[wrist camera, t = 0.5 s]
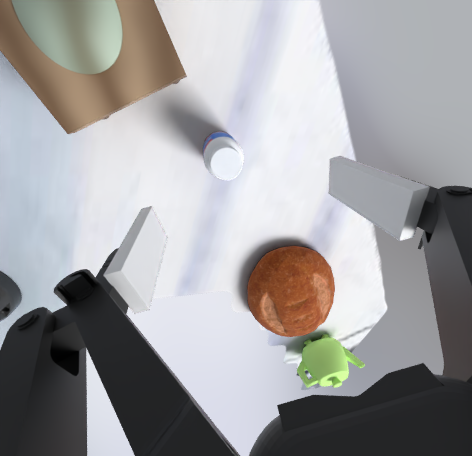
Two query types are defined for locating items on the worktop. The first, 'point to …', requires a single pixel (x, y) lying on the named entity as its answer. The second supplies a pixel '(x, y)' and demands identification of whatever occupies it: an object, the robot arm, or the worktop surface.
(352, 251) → the worktop surface
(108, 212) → the worktop surface
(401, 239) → the robot arm
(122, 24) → the small wooden table
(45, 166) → the worktop surface
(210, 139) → the pill bottle
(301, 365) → the teapot
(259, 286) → the bread
